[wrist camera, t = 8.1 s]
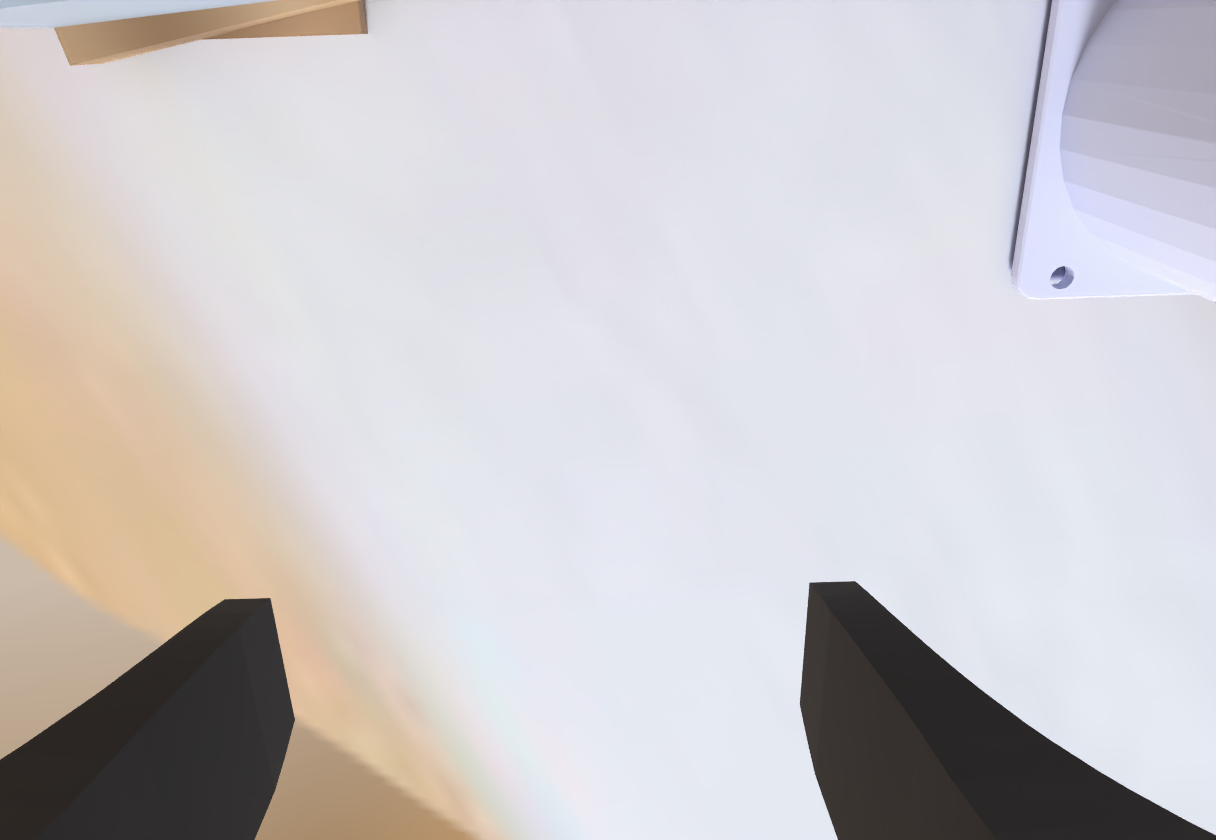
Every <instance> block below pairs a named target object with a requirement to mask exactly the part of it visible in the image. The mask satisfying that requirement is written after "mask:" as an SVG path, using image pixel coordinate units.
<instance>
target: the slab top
mask: <svg viewBox="0 0 1216 840" xmlns="http://www.w3.org/2000/svg"><path fill="white" fill-rule="evenodd" d="M356 1H360V0H276V1H268V2H260V3H252V4H243V5H235V6H227V7H219V8H211V9H203V10H194V11H186V12H178V13H170V14H162V15H153V16H145V17H137V18H129V19H121V20H112V21H104V22H96V23H88V24H80V25H72V26H63V27H55V28H54V29H55V31H56V33H57V36H58V38H59V41H60V43H61V45H62V48H63V50H64V52H65V55H66V57H67V59H68V62H69V64H70V65H86V64H102V63H107V62H111V61H115V60H119V59H123V58H127V57H131V56H135V55H139V54H143V53H148V52H152V51H156V50H160V49H164V48H168V47H172V46H176V45H180V44H184V43H188V42H193V41H197V40H201V39H205V38H209V37H213V36H217V35H221V34H225V33H229V32H233V31H238V30H242V29H246V28H250V27H254V26H258V25H262V24H266V23H270V22H274V21H278V20H282V19H287V18H291V17H295V16H299V15H303V14H307V13H311V12H315V11H319V10H323V9H327V8H332V7H336V6H340V5H344V4H348V3H352V2H356Z"/></svg>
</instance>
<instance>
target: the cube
mask: <svg viewBox="0 0 1216 840" xmlns="http://www.w3.org/2000/svg"><path fill="white" fill-rule="evenodd" d="M268 1H276V0H0V28H55V27H63V26H72V25H80V24H88V23H96V22H104V21H112V20H121V19H129V18H137V17H145V16H153V15H162V14H170V13H178V12H186V11H194V10H203V9H211V8H219V7H227V6H235V5H243V4H252V3H260V2H268Z"/></svg>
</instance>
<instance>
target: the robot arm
mask: <svg viewBox="0 0 1216 840" xmlns="http://www.w3.org/2000/svg"><path fill="white" fill-rule="evenodd" d="M1062 266H1064V267H1065V272H1066V273H1065V276H1064V278H1063V279H1062V280H1061V281H1060V282H1059V283H1057V284H1053V285H1051V281H1050V278H1051V275H1052V273H1053V272H1054V271H1055V270H1056V269H1057V268H1059V267H1062ZM1011 283H1012V285H1013V287H1014V289H1015V290H1016V291H1017V292H1018V293H1020V294H1021V295H1023V296H1025V297H1026V298H1029V299H1035V300H1036V299H1066V298H1095V297H1124V296H1154V295H1183V294H1197V295H1199V296H1202V297H1204V298H1206V299H1208V300H1211V301H1213V302H1215V303H1216V0H1052V6H1051V13H1050V19H1049V26H1048V33H1047V39H1046V46H1045V53H1044V59H1043V66H1042V73H1041V79H1040V86H1039V93H1038V99H1037V106H1036V113H1035V119H1034V126H1033V133H1032V139H1031V146H1030V153H1029V160H1028V166H1027V173H1026V180H1025V186H1024V193H1023V200H1022V206H1021V213H1020V220H1019V226H1018V233H1017V240H1016V246H1015V253H1014V260H1013V266H1012V273H1011ZM800 707H801V712H802V717H803V722H804V726H805V731H806V736H807V741H808V745H809V749H810V754H811V758H812V762H813V767H814V771H815V775H816V778H817V781H818V784H819V787H820V790H821V792H822V795H823V798H824V801H825V804H826V807H827V810H828V812H829V815H830V818H831V821H832V824H833V827H834V829H835V832H836V835H837V838H838V840H1216V835H1214V834H1212V833H1210V832H1208V831H1206V830H1204V829H1202V828H1200V827H1198V826H1196V825H1194V824H1192V823H1190V822H1188V821H1186V820H1184V819H1182V818H1181V817H1179V816H1177V815H1175V814H1173V813H1172V812H1170V811H1168V810H1166V809H1164V808H1162V807H1161V806H1159V805H1157V804H1155V803H1153V802H1151V801H1150V800H1148V799H1146V798H1144V797H1142V796H1140V795H1139V794H1137V793H1135V792H1133V791H1131V790H1130V789H1128V788H1126V787H1124V786H1123V785H1121V784H1119V783H1118V782H1116V781H1114V780H1113V779H1111V778H1109V777H1107V776H1106V775H1104V774H1102V773H1101V772H1099V771H1097V770H1096V769H1094V768H1093V767H1091V766H1090V765H1088V764H1087V763H1085V762H1083V761H1082V760H1080V759H1079V758H1077V757H1076V756H1074V755H1073V754H1071V753H1069V752H1068V751H1066V750H1065V749H1063V748H1062V747H1060V746H1059V745H1057V744H1055V743H1054V742H1052V741H1051V740H1049V739H1048V738H1046V737H1045V736H1043V735H1042V734H1040V733H1039V732H1038V731H1036V730H1035V729H1033V728H1032V727H1030V726H1029V725H1027V724H1026V723H1025V722H1023V721H1022V720H1021V719H1019V718H1018V717H1017V716H1015V715H1014V714H1013V713H1011V712H1010V711H1008V710H1007V709H1006V708H1004V707H1003V706H1002V705H1000V704H999V703H998V702H996V701H995V700H994V699H992V698H991V697H990V696H988V695H987V694H986V693H984V692H983V691H982V690H981V689H979V688H978V687H977V686H976V685H974V684H973V683H972V682H971V681H969V680H968V679H967V678H966V677H964V676H963V675H962V674H961V673H959V672H958V671H957V670H956V669H955V668H953V667H952V666H951V665H950V664H948V663H947V662H946V661H945V660H944V659H943V658H941V657H940V656H939V655H938V654H937V653H935V652H934V651H933V650H932V649H931V648H930V647H929V646H927V645H926V644H925V643H924V642H923V641H922V640H920V639H919V638H918V637H917V636H916V635H915V634H914V633H913V632H911V631H910V630H909V629H908V628H907V627H906V626H905V625H904V624H902V623H901V622H900V621H899V620H898V619H897V618H896V617H895V616H894V615H892V614H891V613H890V612H889V611H888V610H887V609H886V608H885V607H884V606H882V605H881V604H880V603H879V602H878V601H877V600H876V599H875V598H874V597H873V596H871V595H870V594H869V593H868V592H867V591H866V590H865V589H863V588H862V587H861V586H860V585H859V584H858V583H856V582H855V581H851V582H817V583H810V585H809V597H808V610H807V622H806V634H805V647H804V659H803V672H802V684H801V697H800ZM294 721H295V718H294V714H293V709H292V704H291V699H290V694H289V689H288V684H287V679H286V674H285V669H284V664H283V659H282V654H281V649H280V644H279V639H278V634H277V629H276V624H275V619H274V614H273V609H272V604H271V599H270V598H260V599H225V600H223V601H222V602H220V603H219V604H217V605H216V606H214V607H213V608H211V609H210V610H208V611H207V612H205V613H204V614H203V615H201V616H200V617H199V618H197V619H196V620H195V621H193V622H192V623H190V624H189V625H188V626H186V627H185V628H184V629H183V630H181V631H180V632H179V633H177V634H176V635H175V636H173V637H172V638H171V639H169V640H168V641H167V642H165V643H164V644H163V645H161V646H160V647H159V648H158V649H156V650H155V651H154V652H152V653H151V654H150V655H148V656H147V657H146V658H144V659H143V660H142V661H141V662H139V663H138V664H136V665H135V666H134V667H132V668H131V669H130V670H128V671H127V672H126V673H124V674H123V675H122V676H120V677H119V678H118V679H116V680H115V681H114V682H112V683H111V684H110V685H108V686H107V687H106V688H104V689H103V690H102V691H100V692H99V693H97V694H96V695H95V696H93V697H92V698H90V699H89V700H87V701H86V702H85V703H83V704H82V705H80V706H79V707H77V708H76V709H74V710H73V711H72V712H70V713H69V714H67V715H66V716H64V717H63V718H61V719H60V720H59V721H57V722H56V723H54V724H53V725H51V726H50V727H48V728H47V729H46V730H44V731H43V732H41V733H40V734H38V735H37V736H35V737H34V738H33V739H31V740H30V741H28V742H27V743H25V744H24V745H22V746H21V747H19V748H18V749H16V750H15V751H13V752H12V753H10V754H8V755H7V756H5V757H4V758H2V759H1V760H0V840H254V839H255V837H256V835H257V832H258V830H259V827H260V825H261V823H262V820H263V818H264V816H265V813H266V811H267V809H268V806H269V804H270V801H271V799H272V796H273V794H274V792H275V788H276V785H277V782H278V778H279V775H280V772H281V768H282V765H283V762H284V758H285V754H286V751H287V747H288V743H289V740H290V736H291V732H292V728H293V724H294Z"/></svg>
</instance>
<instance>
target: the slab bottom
mask: <svg viewBox="0 0 1216 840" xmlns="http://www.w3.org/2000/svg"><path fill="white" fill-rule="evenodd" d="M345 34H368V31H367V23H366V15H365V7H364V0H360V1H356V2H352V3H348V4H344V5H340V6H336V7H332V8H327V9H323V10H319V11H315V12H311V13H307V14H303V15H299V16H295V17H291V18H287V19H282V20H278V21H274V22H270V23H266V24H262V25H258V26H254V27H250V28H246V29H242V30H238V31H233V32H229V33H225V34H221V35H217V36H213V37H209V38H205V39H230V38H259V37H288V36H316V35H345ZM201 40H202V39H201Z"/></svg>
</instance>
